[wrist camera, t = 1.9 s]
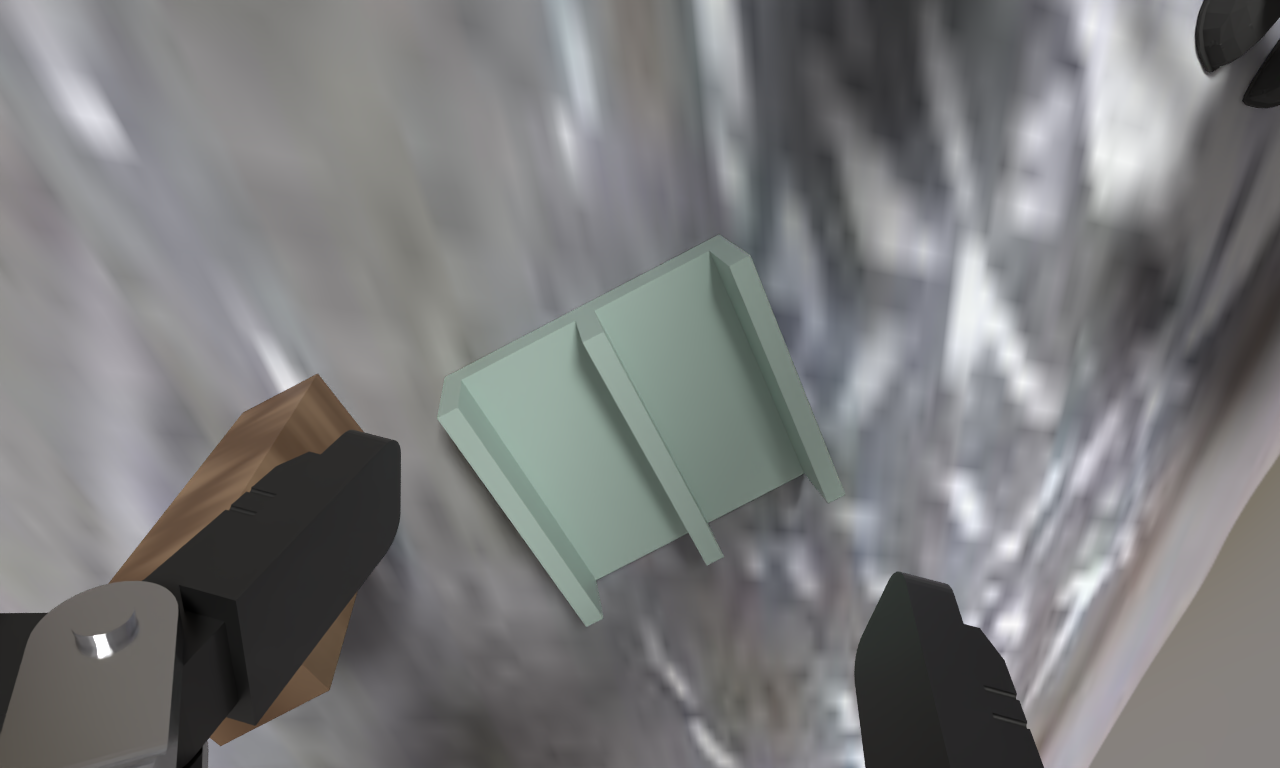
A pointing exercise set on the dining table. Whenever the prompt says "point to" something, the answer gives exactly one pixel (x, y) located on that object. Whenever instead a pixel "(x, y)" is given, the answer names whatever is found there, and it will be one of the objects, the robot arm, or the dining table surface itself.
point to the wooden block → (229, 471)
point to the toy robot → (1241, 42)
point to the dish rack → (639, 419)
